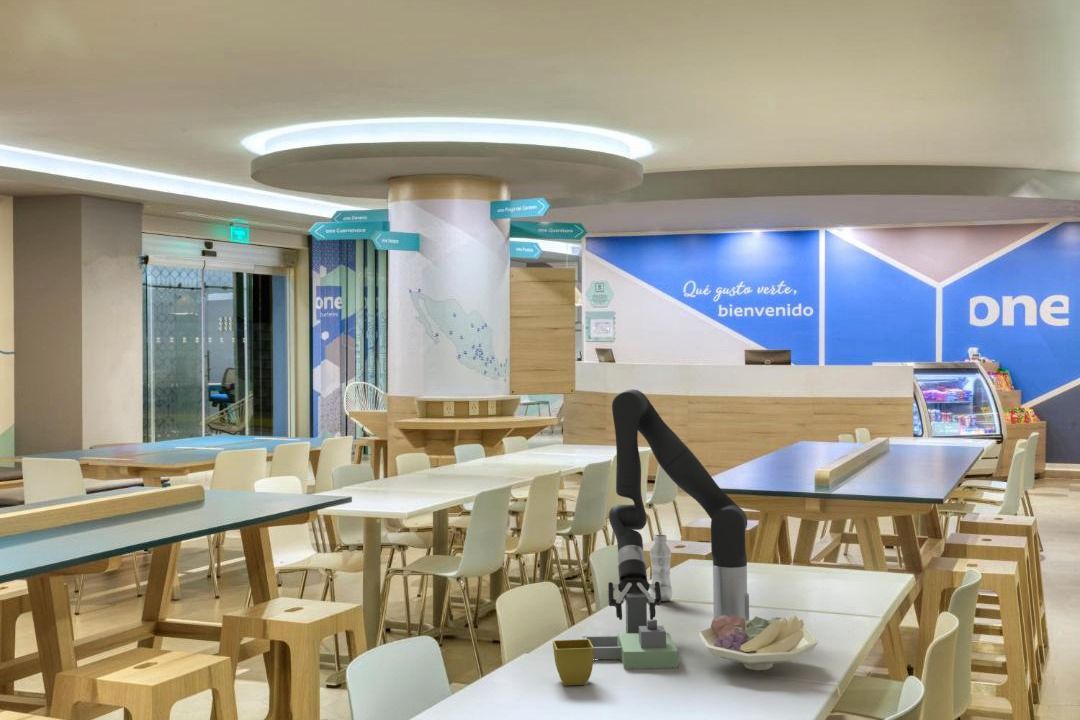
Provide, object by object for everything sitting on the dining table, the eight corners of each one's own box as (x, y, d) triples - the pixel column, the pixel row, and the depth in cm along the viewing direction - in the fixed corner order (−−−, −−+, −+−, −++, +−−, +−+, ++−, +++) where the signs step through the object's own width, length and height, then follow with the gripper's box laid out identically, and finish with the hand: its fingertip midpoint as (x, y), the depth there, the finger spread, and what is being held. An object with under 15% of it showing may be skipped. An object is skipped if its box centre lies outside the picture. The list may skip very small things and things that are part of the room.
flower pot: (552, 678, 263) (552, 639, 263) (590, 676, 264) (589, 638, 264) (556, 689, 254) (556, 649, 254) (595, 687, 255) (594, 647, 255)
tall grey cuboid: (644, 637, 300) (644, 592, 300) (647, 642, 294) (646, 597, 294) (626, 637, 300) (625, 592, 300) (627, 643, 294) (627, 597, 294)
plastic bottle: (671, 603, 341) (670, 537, 341) (649, 603, 342) (648, 537, 342) (673, 599, 347) (672, 534, 347) (651, 598, 348) (650, 533, 348)
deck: (668, 646, 290) (667, 607, 290) (678, 667, 270) (677, 626, 270) (582, 647, 290) (582, 609, 290) (586, 669, 270) (585, 627, 270)
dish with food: (794, 690, 251) (793, 626, 251) (679, 673, 266) (678, 612, 266) (833, 660, 275) (832, 602, 275) (725, 646, 290) (725, 591, 290)
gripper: (606, 558, 305) (609, 610, 293) (659, 557, 305) (664, 609, 293) (605, 574, 310) (608, 626, 299) (657, 573, 310) (662, 625, 299)
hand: (636, 618), depth 296 cm, fingers open, 7 cm apart
